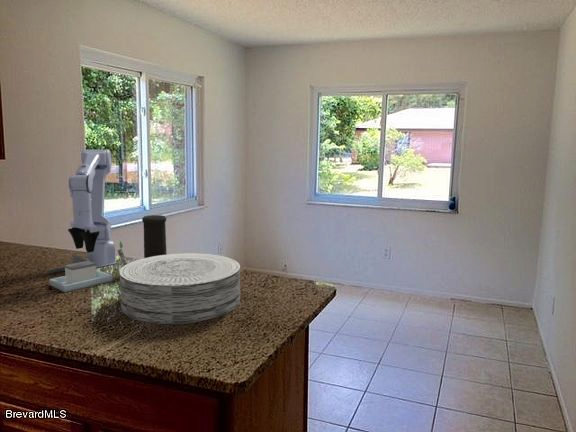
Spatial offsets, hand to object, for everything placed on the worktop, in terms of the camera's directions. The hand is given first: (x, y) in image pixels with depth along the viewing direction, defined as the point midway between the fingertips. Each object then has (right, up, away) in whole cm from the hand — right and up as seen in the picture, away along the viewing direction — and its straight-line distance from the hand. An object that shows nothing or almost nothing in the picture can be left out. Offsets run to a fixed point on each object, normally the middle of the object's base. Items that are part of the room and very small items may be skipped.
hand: (84, 250), depth 160 cm
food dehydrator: (+36, -14, -19) cm, 43 cm away
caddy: (+1, -10, -4) cm, 11 cm away
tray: (+1, -11, -4) cm, 11 cm away
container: (+20, -8, +15) cm, 26 cm away
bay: (-8, -9, +6) cm, 14 cm away
